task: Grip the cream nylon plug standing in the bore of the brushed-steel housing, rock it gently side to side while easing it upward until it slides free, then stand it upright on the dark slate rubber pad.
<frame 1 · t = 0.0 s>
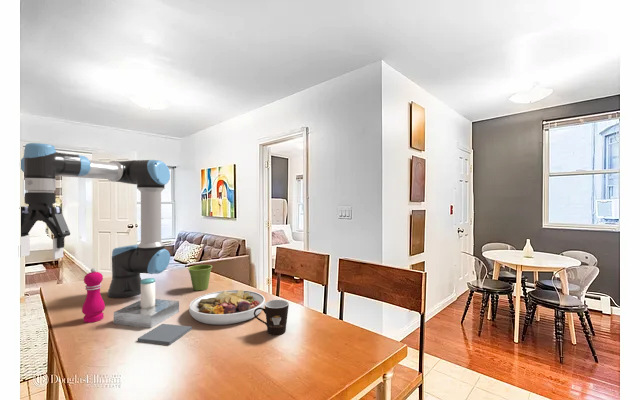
hand: (41, 257, 102), 28 cm above the table, tool pointing down, fingers open, 13 cm apart
coffee mug: (272, 331, 113), on the table
plug: (148, 298, 124), in the housing
bowl: (228, 313, 130), on the table
housing: (148, 317, 124), on the table
pepper mill: (93, 320, 121), on the table
plant pot: (200, 289, 161), on the table
pad: (165, 335, 109), on the table
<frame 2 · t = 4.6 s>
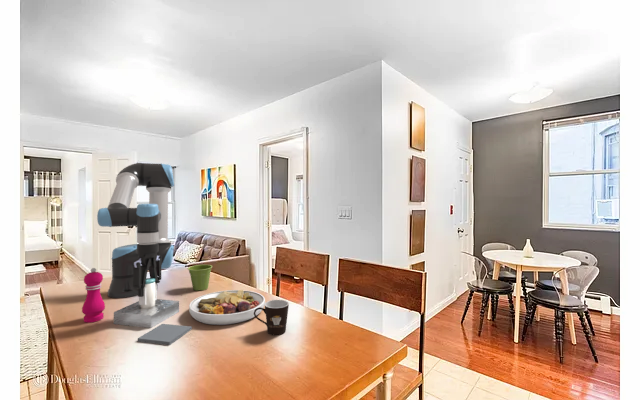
hand: (148, 301, 124), 6 cm above the table, tool pointing down, fingers closed on plug, 5 cm apart
plug: (148, 298, 124), in the housing, touching gripper
everything else where it was.
when the fingers open (9 cm above the table, at t = 11.8 s): plug drops 1 cm, resting on pad.
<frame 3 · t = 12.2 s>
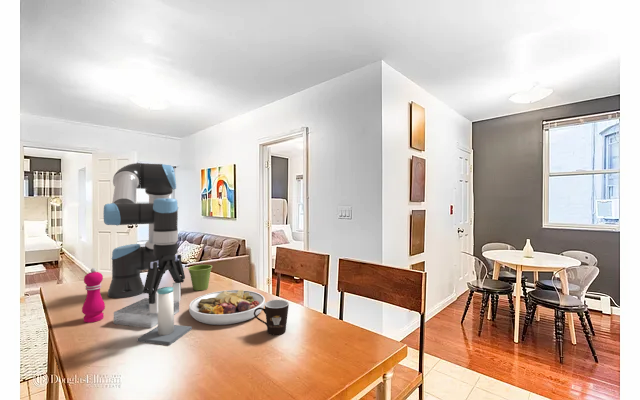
hand: (165, 306, 108), 10 cm above the table, tool pointing down, fingers open, 11 cm apart
plug: (165, 310, 109), on the pad, point 8 cm above the table
everything else where it was.
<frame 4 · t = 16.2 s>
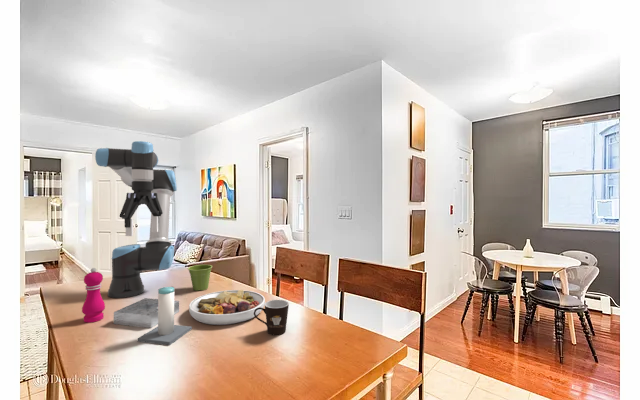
hand: (142, 233, 126), 33 cm above the table, tool pointing down, fingers open, 13 cm apart
nothing on the table moved.
at the end: plug inside the target area on the pad (0.1 cm from its centre), point 8.5 cm above the pad's base; plug tilted 1°; the gripper is holding nothing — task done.
